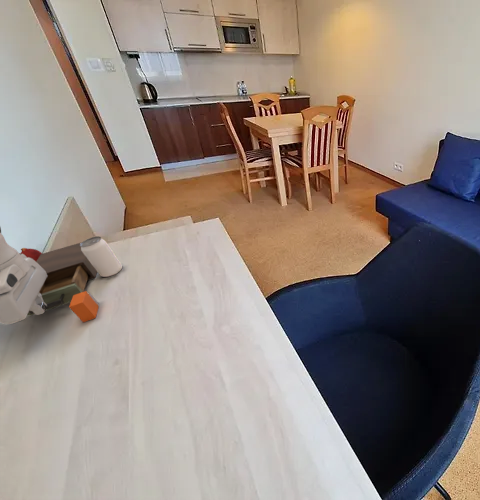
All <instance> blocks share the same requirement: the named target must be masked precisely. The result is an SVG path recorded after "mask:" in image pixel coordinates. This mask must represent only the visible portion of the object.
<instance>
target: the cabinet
mask: <svg viewBox="0 0 480 500" xmlns="http://www.w3.org/2000/svg"><path fill="white" fill-rule="evenodd" d="M82 242H83V241H81V242H78V243H74V244H71V245H68V246H63V247H61V248H57V249H53V250H50V251H47V252H43V253H42V254H41V255H40V256H39V258H38V260H37V261H36V262H37V263H38V264H39V265H40V266H41V267H42V268H43V269H44V270H45V271H46V273H47V275H50V274H53V273H56V272H60V271H63V270H66V269H69V268H73V267H76V266H79V265H82V266H83V267H84V269H85V270H86V271H87V272H88V274H89V276H88V279H87V281H90V280H93V279H95V278H97V277H96V276H97V274H98V272H97V270H96V269H95V268H94V267H93V265H92V264H91V263H90V261H89V260H88V259H87V257H86V256H85V255H84V253H83V252H82V250H81V246H80V244H81V243H82Z"/></svg>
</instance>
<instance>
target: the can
mask: <svg viewBox="0 0 480 500" xmlns="http://www.w3.org/2000/svg"><path fill="white" fill-rule="evenodd" d="M81 242H82V243H81ZM81 242H80V243H81V244H80V246H81V250H82V252H83V253H84V255H85V256H86V257H87V259H88V260H89V261H90V263H91V264H92V265H93V267H94V268H95V269H96V270H97V274H99V276H100V277H103V278H109V277H112V276H115V275H117V274H119V272H121V271H122V269H123V265H122V263H121V262H120V260H119V259H118V256H117V255H116V254H115V253H114V251H113V250H112V248H111V247H110V245H109V244H108V243H107V241H106V240H105V239H104V238H102V237H101V236H92V237H89V238H86V239H85V240H83V241H81Z"/></svg>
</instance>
